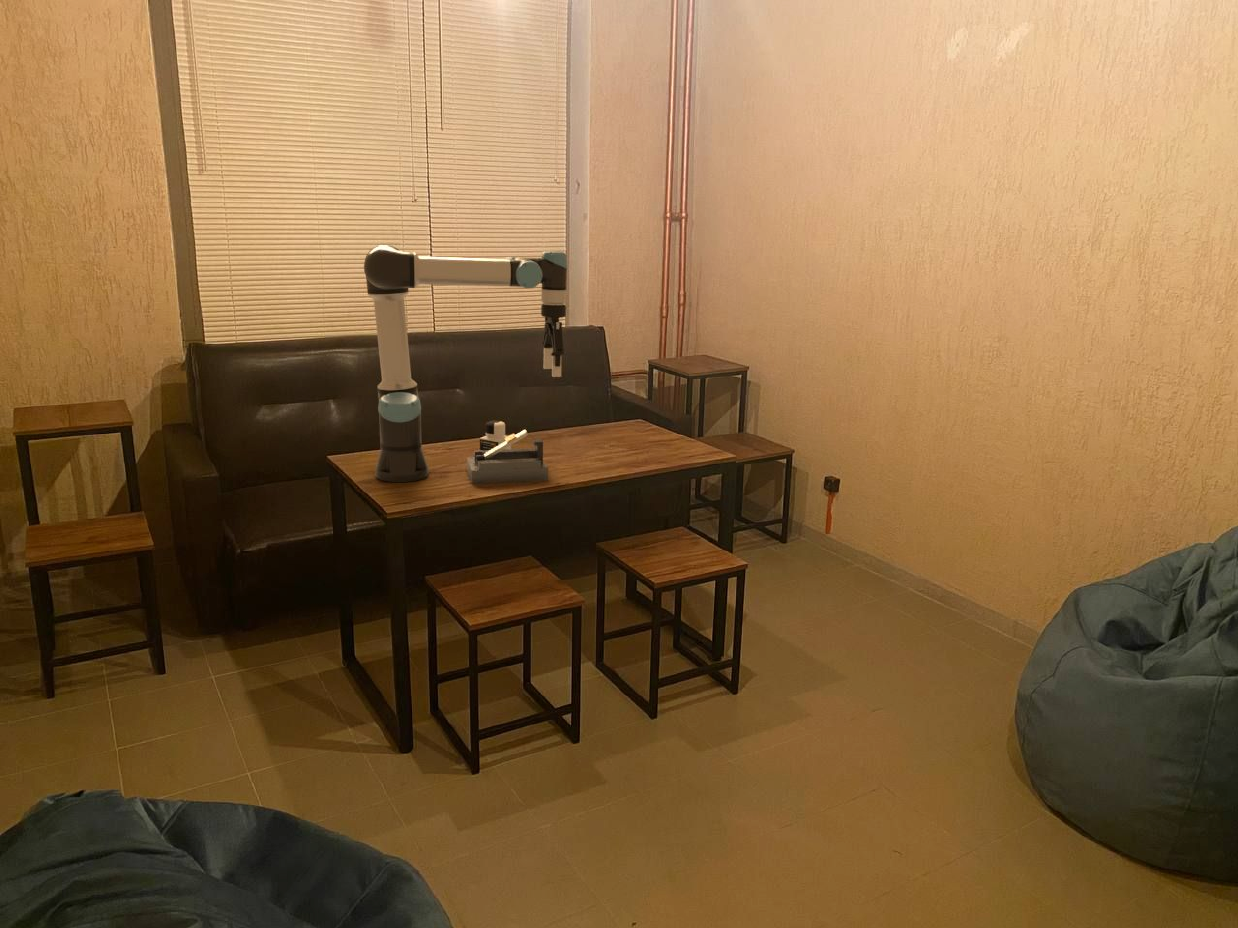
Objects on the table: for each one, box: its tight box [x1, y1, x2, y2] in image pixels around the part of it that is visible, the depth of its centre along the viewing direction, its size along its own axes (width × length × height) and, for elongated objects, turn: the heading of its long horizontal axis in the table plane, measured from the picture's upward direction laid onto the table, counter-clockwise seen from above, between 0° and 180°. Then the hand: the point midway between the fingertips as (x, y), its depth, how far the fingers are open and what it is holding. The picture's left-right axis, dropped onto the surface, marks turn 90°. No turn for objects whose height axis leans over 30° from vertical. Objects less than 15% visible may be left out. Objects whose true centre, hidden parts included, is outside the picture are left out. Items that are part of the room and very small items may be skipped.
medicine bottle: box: [479, 420, 512, 451], centre depth 280 cm, size 7×7×12 cm
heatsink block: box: [466, 437, 549, 485], centre depth 264 cm, size 22×14×10 cm, turn 105°
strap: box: [483, 429, 529, 460], centre depth 262 cm, size 17×4×2 cm, turn 104°
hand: (552, 372), depth 278 cm, fingers open, 13 cm apart
